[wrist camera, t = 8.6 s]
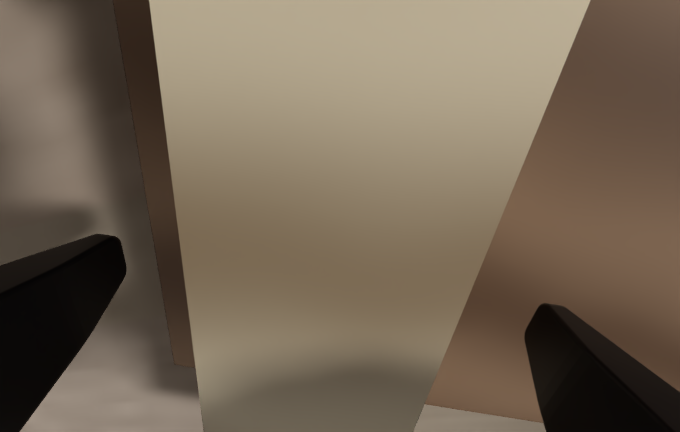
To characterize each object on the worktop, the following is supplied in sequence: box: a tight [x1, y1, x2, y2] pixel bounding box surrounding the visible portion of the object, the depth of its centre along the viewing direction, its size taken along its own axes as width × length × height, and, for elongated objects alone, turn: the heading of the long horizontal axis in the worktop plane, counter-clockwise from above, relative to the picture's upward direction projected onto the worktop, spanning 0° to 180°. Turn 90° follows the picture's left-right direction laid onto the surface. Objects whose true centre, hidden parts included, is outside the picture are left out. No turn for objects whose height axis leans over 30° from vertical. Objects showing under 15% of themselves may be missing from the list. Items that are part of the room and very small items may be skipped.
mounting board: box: [113, 0, 680, 423], centre depth 8 cm, size 21×21×2 cm
